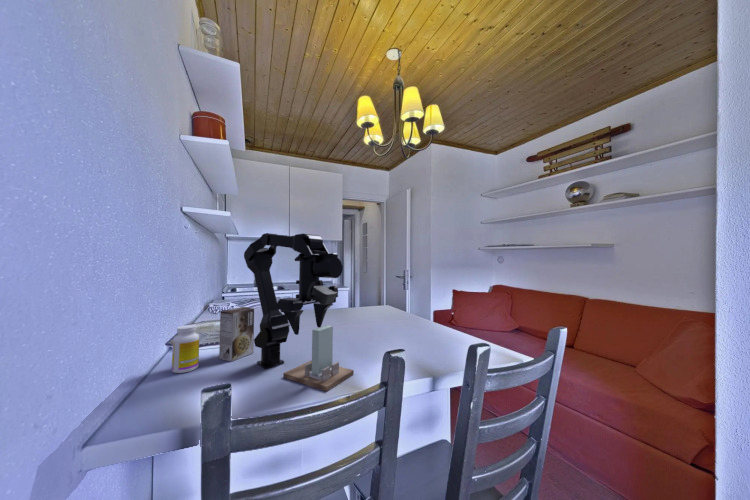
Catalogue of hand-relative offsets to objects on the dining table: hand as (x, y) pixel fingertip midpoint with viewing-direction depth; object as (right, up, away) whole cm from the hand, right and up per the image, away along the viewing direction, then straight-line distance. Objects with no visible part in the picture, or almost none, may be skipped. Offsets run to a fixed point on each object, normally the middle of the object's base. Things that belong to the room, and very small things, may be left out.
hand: (308, 330), depth 77 cm
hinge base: (+3, -13, 0) cm, 13 cm away
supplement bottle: (-38, -13, +3) cm, 41 cm away
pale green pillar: (+4, -12, -2) cm, 13 cm away
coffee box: (-29, -14, +15) cm, 35 cm away
